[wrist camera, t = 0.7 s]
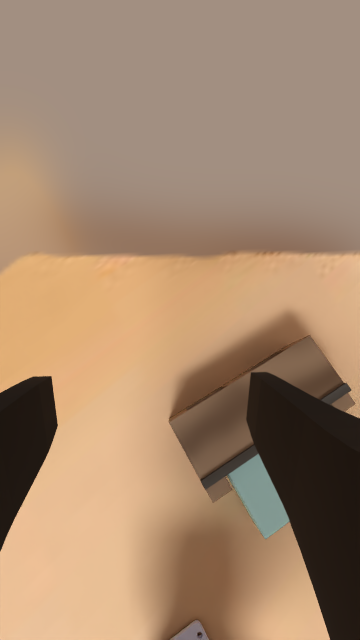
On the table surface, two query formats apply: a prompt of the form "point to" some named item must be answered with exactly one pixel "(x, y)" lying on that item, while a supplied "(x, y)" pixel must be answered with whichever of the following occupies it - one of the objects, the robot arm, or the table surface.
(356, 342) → the table surface
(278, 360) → the sleeve block
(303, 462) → the robot arm
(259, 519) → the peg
